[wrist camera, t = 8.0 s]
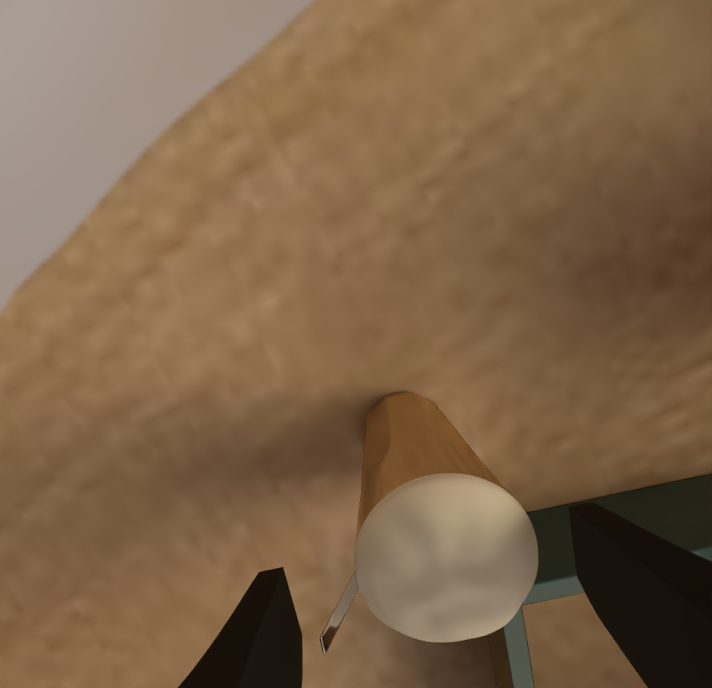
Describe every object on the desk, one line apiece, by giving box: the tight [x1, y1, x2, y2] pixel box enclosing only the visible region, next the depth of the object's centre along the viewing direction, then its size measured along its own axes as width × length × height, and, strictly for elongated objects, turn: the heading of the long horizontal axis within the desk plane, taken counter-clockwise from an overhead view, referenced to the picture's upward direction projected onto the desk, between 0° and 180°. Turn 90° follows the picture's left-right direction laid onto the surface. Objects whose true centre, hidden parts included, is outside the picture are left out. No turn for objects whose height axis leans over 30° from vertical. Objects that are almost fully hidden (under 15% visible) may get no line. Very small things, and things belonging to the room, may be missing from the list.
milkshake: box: [320, 392, 538, 654], centre depth 16 cm, size 4×5×10 cm
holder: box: [487, 474, 712, 688], centre depth 22 cm, size 14×14×4 cm
